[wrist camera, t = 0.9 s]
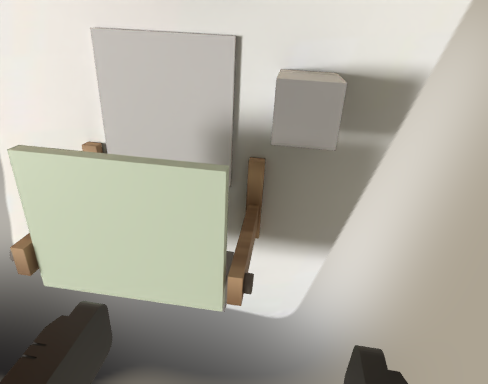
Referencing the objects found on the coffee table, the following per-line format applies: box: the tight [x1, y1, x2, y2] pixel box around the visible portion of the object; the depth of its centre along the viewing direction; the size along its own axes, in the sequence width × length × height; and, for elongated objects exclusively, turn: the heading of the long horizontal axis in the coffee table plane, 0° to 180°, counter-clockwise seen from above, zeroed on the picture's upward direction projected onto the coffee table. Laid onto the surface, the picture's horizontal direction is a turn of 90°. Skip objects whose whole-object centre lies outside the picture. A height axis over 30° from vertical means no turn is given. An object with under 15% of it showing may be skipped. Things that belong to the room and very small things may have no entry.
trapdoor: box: [7, 145, 234, 311], centre depth 25 cm, size 12×14×5 cm
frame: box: [10, 142, 265, 306], centre depth 28 cm, size 8×18×12 cm, turn 87°
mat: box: [90, 28, 236, 187], centre depth 30 cm, size 13×12×1 cm
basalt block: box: [271, 69, 347, 151], centre depth 25 cm, size 4×4×6 cm
